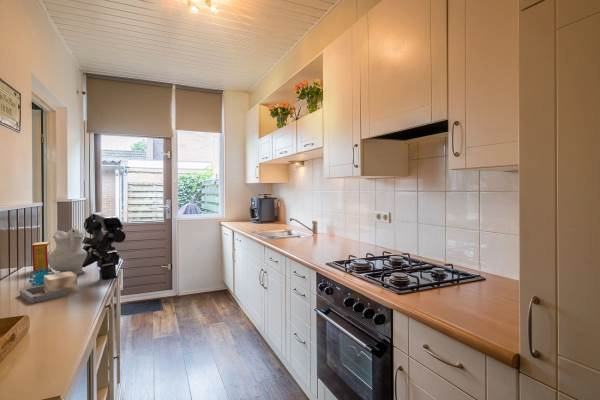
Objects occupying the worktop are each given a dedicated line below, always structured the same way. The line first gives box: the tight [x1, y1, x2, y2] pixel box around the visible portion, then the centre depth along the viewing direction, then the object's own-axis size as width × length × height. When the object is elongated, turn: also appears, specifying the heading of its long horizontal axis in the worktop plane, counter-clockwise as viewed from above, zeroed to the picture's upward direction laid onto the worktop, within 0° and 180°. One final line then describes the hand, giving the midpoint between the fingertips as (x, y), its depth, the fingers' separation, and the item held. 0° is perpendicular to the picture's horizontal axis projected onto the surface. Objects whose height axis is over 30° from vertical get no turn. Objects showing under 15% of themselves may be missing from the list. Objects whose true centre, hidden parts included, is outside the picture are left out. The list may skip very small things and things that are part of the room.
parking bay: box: [18, 284, 68, 304], centre depth 140 cm, size 12×18×2 cm
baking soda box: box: [31, 241, 52, 274], centre depth 184 cm, size 10×6×16 cm
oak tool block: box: [43, 271, 78, 294], centre depth 145 cm, size 10×11×8 cm
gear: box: [28, 268, 55, 287], centre depth 157 cm, size 11×6×10 cm
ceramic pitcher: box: [48, 228, 87, 275], centre depth 176 cm, size 22×20×25 cm
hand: (82, 266), depth 153 cm, fingers closed
